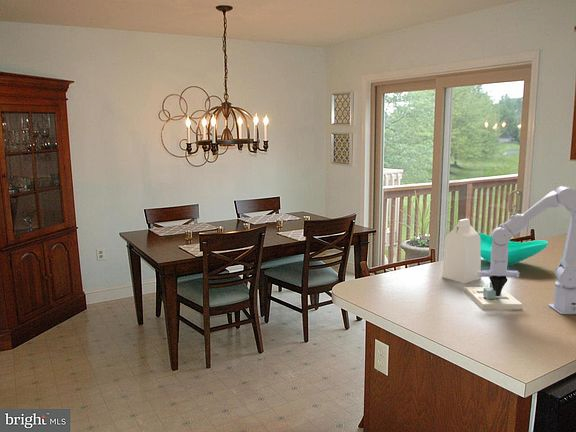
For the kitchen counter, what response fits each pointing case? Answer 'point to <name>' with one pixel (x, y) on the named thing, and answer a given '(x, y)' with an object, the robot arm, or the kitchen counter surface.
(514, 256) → the table top decor
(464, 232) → the milk
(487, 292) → the tab
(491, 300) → the switch panel
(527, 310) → the kitchen counter surface
